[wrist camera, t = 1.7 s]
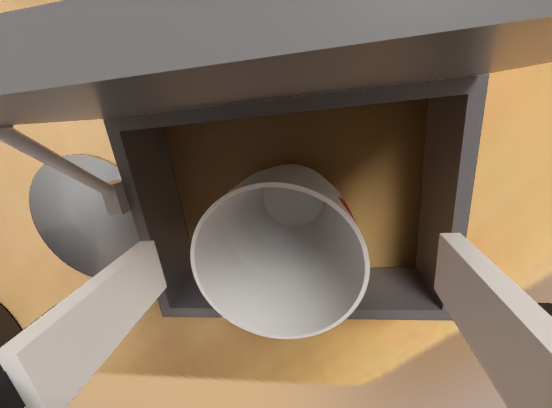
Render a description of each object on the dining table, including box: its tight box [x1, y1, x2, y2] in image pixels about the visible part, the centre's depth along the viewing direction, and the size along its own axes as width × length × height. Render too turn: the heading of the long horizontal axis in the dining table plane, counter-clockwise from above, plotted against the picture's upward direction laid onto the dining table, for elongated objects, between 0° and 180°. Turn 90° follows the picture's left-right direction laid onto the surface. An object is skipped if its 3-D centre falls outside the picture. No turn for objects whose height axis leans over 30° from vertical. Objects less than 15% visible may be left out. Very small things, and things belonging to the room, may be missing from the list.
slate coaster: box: [29, 154, 140, 277], centre depth 24 cm, size 12×12×1 cm
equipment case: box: [0, 0, 552, 321], centre depth 13 cm, size 22×16×17 cm
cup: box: [190, 164, 370, 339], centre depth 17 cm, size 8×8×10 cm
